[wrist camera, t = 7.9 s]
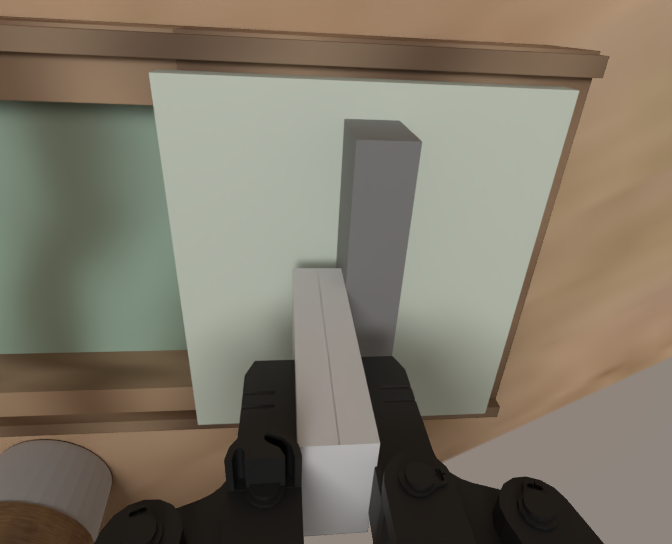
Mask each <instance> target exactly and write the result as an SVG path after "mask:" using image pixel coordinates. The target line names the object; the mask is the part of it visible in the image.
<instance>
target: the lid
mask: <svg viewBox="0 0 672 544" xmlns="http://www.w3.org/2000/svg"><path fill="white" fill-rule="evenodd" d="M149 79H150V86H151V93H152V100H153V107H154V114H155V122H156V129H157V136H158V143H159V150H160V157H161V164H162V172H163V179H164V186H165V193H166V200H167V207H168V214H169V222H170V229H171V236H172V243H173V250H174V257H175V264H176V272H177V279H178V286H179V293H180V300H181V307H182V314H183V321H184V329H185V336H186V343H187V350H188V357H189V364H190V371H191V379H192V386H193V393H194V400H195V407H196V414H197V421H198V425H209V424H234V423H239V422H240V413H241V404H242V395H243V386H244V377H245V374H246V373H247V371H248V370H249V368H250V367H251V365H252V364H253V363H254V361H265V360H293V343H292V321H293V268H341V270H342V274H343V279H344V283H345V288H346V292H347V296H348V301H349V305H350V310H351V314H352V319H353V323H354V328H355V332H356V337H357V341H358V346H359V350H360V355H361V357H372V356H393V357H394V358H395V359H396V360H397V361H398V362H399V363H400V364H401V365H402V366H403V368H404V369H405V370H406V373H407V376H408V379H409V382H410V385H411V388H412V391H413V394H414V397H415V401H416V403H417V406H418V409H419V411H420V414H421V416H434V415H459V414H484V413H485V412H486V409H487V405H488V402H489V398H490V395H491V391H492V388H493V385H494V381H495V378H496V374H497V371H498V368H499V364H500V361H501V357H502V354H503V350H504V347H505V344H506V340H507V337H508V333H509V330H510V327H511V323H512V320H513V316H514V313H515V309H516V306H517V303H518V299H519V296H520V292H521V289H522V286H523V282H524V279H525V275H526V272H527V268H528V265H529V262H530V258H531V255H532V251H533V248H534V245H535V241H536V238H537V234H538V231H539V227H540V224H541V221H542V217H543V214H544V210H545V207H546V204H547V200H548V197H549V193H550V190H551V186H552V183H553V180H554V176H555V173H556V169H557V166H558V163H559V159H560V156H561V152H562V149H563V145H564V142H565V139H566V135H567V132H568V128H569V125H570V122H571V118H572V115H573V111H574V108H575V105H576V101H577V98H578V94H579V90H575V89H572V88H568V87H559V86H535V85H512V84H489V83H465V82H442V81H418V80H395V79H372V78H348V77H325V76H301V75H278V74H255V73H231V72H208V71H184V70H161V69H156V70H153V71H151V72H149Z"/></svg>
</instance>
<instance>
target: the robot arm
mask: <svg viewBox="0 0 672 544" xmlns="http://www.w3.org/2000/svg"><path fill="white" fill-rule="evenodd" d="M292 343H293V360H265V361H254V363H253V364H252V365H251V367H250V368H249V370H248V371H247V373H246V374H245V377H244V386H243V395H242V404H241V413H240V422H239V431H238V438H237V440H236V441H235V442H234V443H233V444H232V445H231V446H230V447H229V449H228V452H227V454H226V457H225V460H224V463H225V473H226V482H225V483H224V484H223V485H222V486H221V487H220V488H219V489H218V490H216V491H215V492H214V493H212V494H211V495H209V496H207V497H205V498H203V499H201V500H198V501H195V502H193V503H190V504H187V505H184V506H182V507H179V508H176V509H175V507H174V506H173V505H172V504H169V503H167V502H164V501H162V500H143V501H140V502H137V503H134V504H131V505H128V506H127V507H126V508H124V509H123V510H121V511H120V512H118V513H117V514H116V515H114V516H113V517H112V518H111V520H110V521H109V522H108V523H107V524H106V526H105V527H104V528H103V529H102V531H101V532H100V534H99V536H98V537H97V539H96V541H95V542H94V544H304V537H303V536H315V535H331V534H345V533H361V532H368V525H369V520H370V526H371V532H372V538H373V544H603V542H602V541H601V540H600V538H599V537H598V536H597V535H596V534H595V533H594V531H593V530H592V529H591V528H590V527H589V525H588V524H587V523H586V522H585V521H584V519H583V518H582V517H581V516H580V515H579V514H578V512H577V511H576V510H575V509H574V507H573V506H572V505H571V504H570V503H569V502H568V500H567V499H566V498H565V497H564V496H563V495H561V494H560V493H559V492H558V491H557V490H556V489H555V488H554V487H552V486H550V485H548V484H546V483H545V482H543V481H541V480H537V479H534V478H529V477H518V478H512V479H511V480H509V481H507V482H506V483H504V484H503V486H502V488H501V490H499V489H495V488H491V487H487V486H483V485H479V484H474V483H471V482H468V481H466V480H463V479H460V478H459V477H457V476H455V475H453V474H452V473H450V472H449V470H448V469H447V467H446V466H445V465H444V464H443V463H441V462H440V461H439V460H438V459H437V458H436V456H435V454H434V452H433V450H432V447H431V444H430V441H429V438H428V435H427V432H426V429H425V426H424V423H423V420H422V417H421V414H420V411H419V409H418V406H417V403H416V401H415V397H414V394H413V391H412V388H411V385H410V382H409V379H408V376H407V373H406V370H405V369H404V368H403V366H402V365H401V364H400V363H399V362H398V361H397V360H396V359H395V358H394V357H393V356H372V357H361V355H360V350H359V346H358V341H357V337H356V332H355V328H354V323H353V319H352V314H351V310H350V305H349V301H348V296H347V292H346V288H345V283H344V279H343V274H342V270H341V268H293V321H292Z"/></svg>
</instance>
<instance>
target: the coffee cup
mask: <svg viewBox="0 0 672 544" xmlns="http://www.w3.org/2000/svg"><path fill="white" fill-rule="evenodd" d="M111 486H112V476H111V473H110V470H109V468H108V467H107V465H106V464H105V463H104V462H103V461H102V460H101V459H100V458H99V457H98V456H97V455H95V454H94V453H92V452H91V451H89V450H87V449H85V448H83V447H80V446H78V445H74V444H71V443H68V442H62V441H57V440H32V441H27V442H22V443H20V444H17V445H14V446H12V447H10V448H9V449H7V450H5V451H4V452H3V453H2V454H1V455H0V544H94V542H95V541H96V539H97V536H98V533H99V529H100V525H101V522H102V518H103V515H104V511H105V508H106V504H107V501H108V497H109V494H110V490H111Z"/></svg>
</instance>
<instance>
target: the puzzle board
mask: <svg viewBox="0 0 672 544" xmlns="http://www.w3.org/2000/svg"><path fill="white" fill-rule="evenodd" d="M599 54H600V51H594V50H585V49H577V48H568V47H560V46H551V45H533V44H514V43H496V42H477V41H458V40H439V39H420V38H401V37H383V36H364V35H345V34H326V33H307V32H288V31H270V30H251V29H232V28H213V27H194V26H175V25H157V24H138V23H119V22H100V21H81V20H62V19H44V18H25V17H6V16H0V437H15V436H40V435H64V434H89V433H113V432H138V431H162V430H187V429H211V428H236V427H239V423H234V424H209V425H198V421H197V414H196V407H195V400H194V393H193V386H192V379H191V371H190V364H189V357H188V350H187V343H186V336H185V329H184V321H183V314H182V307H181V300H180V293H179V286H178V279H177V272H176V264H175V257H174V250H173V243H172V236H171V229H170V222H169V214H168V207H167V200H166V193H165V186H164V179H163V172H162V164H161V157H160V150H159V143H158V136H157V129H156V122H155V114H154V107H153V100H152V93H151V86H150V79H149V72H151V71H153V70H156V69H161V70H184V71H208V72H231V73H255V74H278V75H301V76H325V77H348V78H372V79H395V80H418V81H442V82H465V83H489V84H512V85H535V86H559V87H568V88H572V89H575V90H579V94H578V98H577V101H576V105H575V108H574V111H573V115H572V118H571V122H570V125H569V128H568V132H567V135H566V139H565V142H564V145H563V149H562V152H561V156H560V159H559V163H558V166H557V169H556V173H555V176H554V180H553V183H552V186H551V190H550V193H549V197H548V200H547V204H546V207H545V210H544V214H543V217H542V221H541V224H540V227H539V231H538V234H537V238H536V241H535V245H534V248H533V251H532V255H531V258H530V262H529V265H528V268H527V272H526V275H525V279H524V282H523V286H522V289H521V292H520V296H519V299H518V303H517V306H516V309H515V313H514V316H513V320H512V323H511V327H510V330H509V333H508V337H507V340H506V344H505V347H504V350H503V354H502V357H501V361H500V364H499V368H498V371H497V374H496V378H495V381H494V385H493V388H492V391H491V395H490V398H489V402H488V405H487V409H486V412H485V413H484V414H459V415H434V416H421V417H422V420H431V419H456V418H480V417H497V415H498V412H499V409H500V406H499V405H498V403H497V401H496V395H497V392H498V389H499V385H500V382H501V379H502V376H503V372H504V369H505V366H506V362H507V359H508V356H509V352H510V349H511V346H512V342H513V339H514V336H515V332H516V329H517V326H518V322H519V319H520V316H521V313H522V309H523V306H524V303H525V299H526V296H527V293H528V289H529V286H530V283H531V279H532V276H533V273H534V269H535V266H536V263H537V260H538V256H539V253H540V250H541V246H542V243H543V240H544V236H545V233H546V230H547V226H548V223H549V220H550V216H551V213H552V210H553V206H554V203H555V200H556V197H557V193H558V190H559V187H560V183H561V180H562V177H563V173H564V170H565V167H566V163H567V160H568V157H569V153H570V150H571V147H572V144H573V140H574V137H575V134H576V130H577V127H578V124H579V120H580V117H581V114H582V110H583V107H584V104H585V100H586V97H587V94H588V90H589V87H590V84H591V81H592V78H603V75H604V72H605V69H606V66H607V62H608V59H609V56H604V55H599Z"/></svg>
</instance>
